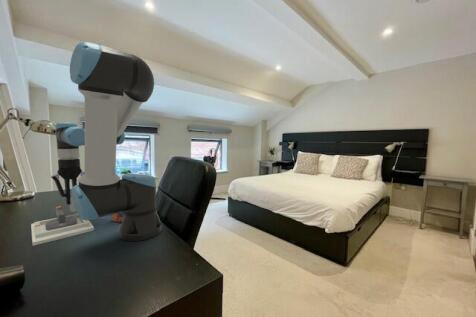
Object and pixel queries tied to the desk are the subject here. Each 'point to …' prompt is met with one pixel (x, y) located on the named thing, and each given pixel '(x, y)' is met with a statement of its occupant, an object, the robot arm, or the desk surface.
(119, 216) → the mug
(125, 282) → the desk surface
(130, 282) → the desk surface
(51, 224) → the dial
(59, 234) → the panel
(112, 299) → the desk surface
